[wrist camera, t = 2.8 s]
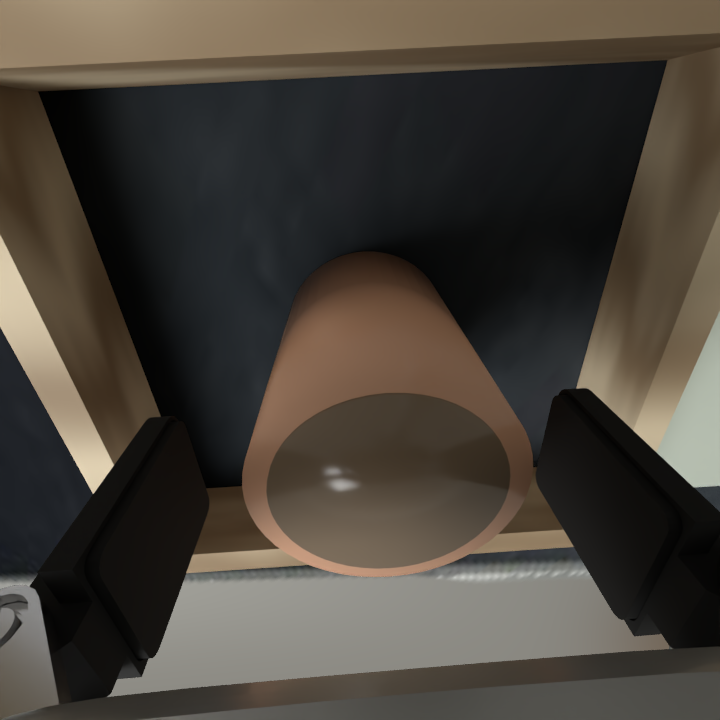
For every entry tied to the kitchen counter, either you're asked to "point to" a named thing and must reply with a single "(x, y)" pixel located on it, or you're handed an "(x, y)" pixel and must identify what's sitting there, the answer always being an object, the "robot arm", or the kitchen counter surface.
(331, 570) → the terracotta pot
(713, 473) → the sage tile
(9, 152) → the frame
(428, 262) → the kitchen counter surface
